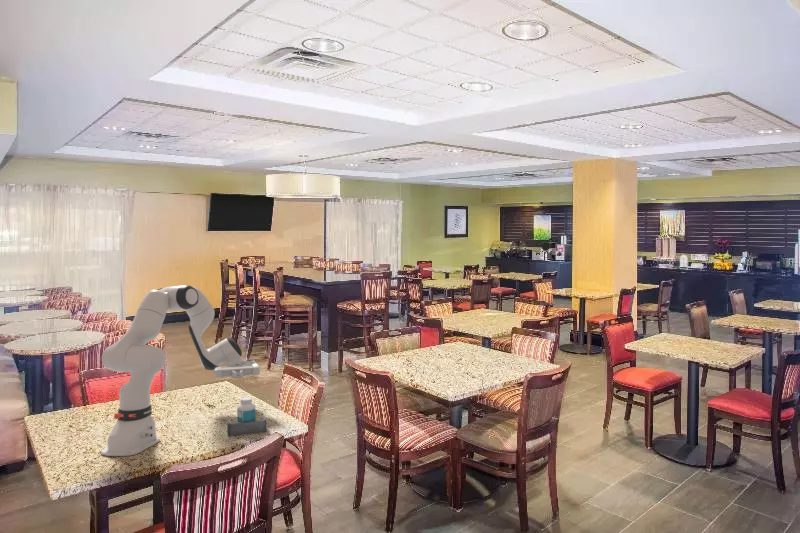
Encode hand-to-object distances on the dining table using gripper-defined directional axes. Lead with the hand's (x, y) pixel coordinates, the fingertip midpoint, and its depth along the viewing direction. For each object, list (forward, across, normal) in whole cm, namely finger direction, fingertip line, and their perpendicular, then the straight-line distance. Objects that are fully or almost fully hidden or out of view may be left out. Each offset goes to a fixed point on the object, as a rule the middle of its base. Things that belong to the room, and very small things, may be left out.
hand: (238, 374), depth 251 cm
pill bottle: (+16, +3, +20) cm, 26 cm away
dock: (+18, +3, +20) cm, 27 cm away
